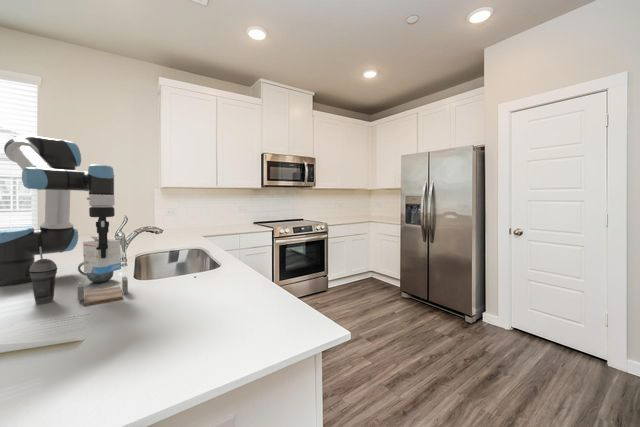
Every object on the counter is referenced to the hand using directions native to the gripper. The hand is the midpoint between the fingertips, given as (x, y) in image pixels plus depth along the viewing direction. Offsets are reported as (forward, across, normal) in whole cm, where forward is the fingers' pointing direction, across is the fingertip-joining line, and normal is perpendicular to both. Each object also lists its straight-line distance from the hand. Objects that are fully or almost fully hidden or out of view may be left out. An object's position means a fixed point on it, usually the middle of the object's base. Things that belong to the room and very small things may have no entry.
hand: (103, 263), depth 105 cm
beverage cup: (+13, -6, -17) cm, 22 cm away
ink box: (+3, 0, 0) cm, 3 cm away
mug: (+13, -23, -2) cm, 27 cm away
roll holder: (+13, 0, 0) cm, 13 cm away
